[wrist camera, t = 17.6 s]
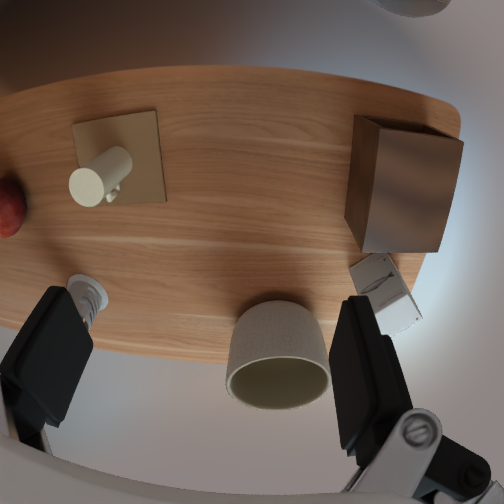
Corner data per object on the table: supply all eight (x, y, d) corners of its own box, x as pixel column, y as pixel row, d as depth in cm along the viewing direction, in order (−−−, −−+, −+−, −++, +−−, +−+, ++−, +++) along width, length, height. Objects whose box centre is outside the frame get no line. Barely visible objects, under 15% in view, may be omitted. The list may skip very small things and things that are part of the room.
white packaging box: (382, 244, 49) (409, 292, 39) (399, 271, 52) (424, 319, 42) (346, 267, 52) (365, 319, 41) (365, 292, 55) (384, 343, 44)
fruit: (39, 224, 48) (10, 254, 40) (5, 220, 48) (-24, 247, 39) (30, 171, 43) (-5, 195, 34) (-4, 171, 42) (-38, 193, 34)
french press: (103, 277, 54) (46, 383, 33) (114, 320, 61) (73, 420, 40) (62, 271, 54) (0, 366, 33) (75, 313, 60) (29, 405, 39)
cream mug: (99, 148, 41) (64, 170, 32) (130, 144, 40) (99, 165, 32) (107, 191, 44) (77, 221, 36) (136, 188, 44) (110, 219, 36)
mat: (73, 123, 39) (71, 124, 38) (156, 109, 38) (155, 110, 38) (89, 205, 46) (87, 207, 46) (167, 200, 46) (166, 202, 46)
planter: (331, 293, 55) (348, 359, 42) (305, 352, 64) (313, 413, 52) (238, 280, 54) (232, 349, 41) (226, 343, 63) (220, 406, 50)
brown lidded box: (354, 114, 38) (379, 128, 30) (427, 124, 38) (464, 142, 30) (344, 217, 47) (361, 253, 39) (411, 219, 47) (437, 252, 38)
